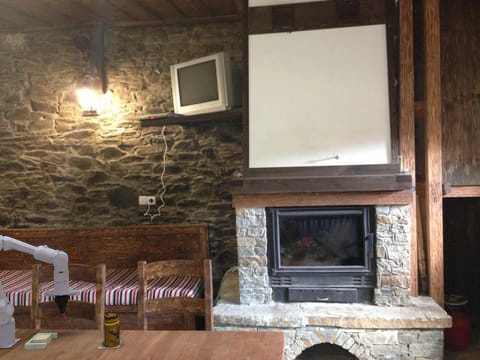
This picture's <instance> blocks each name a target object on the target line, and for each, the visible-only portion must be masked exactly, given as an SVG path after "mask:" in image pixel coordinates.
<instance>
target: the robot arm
mask: <svg viewBox="0 0 480 360" xmlns="http://www.w3.org/2000/svg"><path fill="white" fill-rule="evenodd" d="M2 249H3V251H4V252H5V251H9V250H15V251H18V252H22V253H26V254H29V255H32V256H33V257H34V259H35V260H37V261H42V262H44V263H47V264H52V265H53V267H54V270H53V283H54V284H53V285H54V286H53V288H54V289H53V290H45V291H44V292H43V298H47V297H54V298H53V301H54V302H55V304H56V306H57V308H58V310H59V314H61V315H62V314H65V313H66V310H67V306H68V302H69V300H70V298H71V296H72V297H73V296H75V297H80V295H81V290H80V289H70V273H69V264H68V263H69V256H68V254H67V253H66V252H64V251H63V250H59V249H56V250H55V249H53V248H50V247H48V245H46V244H45V245H39V246H35V245H32V244H29V243H26V242H24V241H21V240H18V239H15V238H13V237H9V236H8V235H7V236H6V235H4V236H3V235H2V234H0V252H1V251H2ZM14 312H15V307H14V305H13V304H12V303H11V302H10V301H9V298H8V296H6V294H5V290H4V287H3V285H2V282H1V281H0V349H10V348H12V347H13V346H14V345H15V344H17V343H18V342H19V341H20V340H21V338H16V321H15V318H14V316H13V315H14Z"/></svg>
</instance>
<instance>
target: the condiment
mask: <svg viewBox="0 0 480 360" xmlns="http://www.w3.org/2000/svg"><path fill="white" fill-rule="evenodd" d="M103 320H104V322H103V340H100V342H99V345H97V350H102V349H103V350H105V349H116V348H117V349H118V348H121V345H122V342H123V339H121V329H120V325H121V324H120V320H119V314H118V313H117V312H109V313H106V314H105V315H104V319H103Z"/></svg>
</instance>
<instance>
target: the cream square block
mask: <svg viewBox="0 0 480 360" xmlns="http://www.w3.org/2000/svg"><path fill="white" fill-rule="evenodd" d="M51 342H52V338H51V334H39V335H38V336H37V337H35V338H34V339H33V343H46V347H47V346H48V345H49V344H50V343H51Z"/></svg>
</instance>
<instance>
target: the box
mask: <svg viewBox="0 0 480 360" xmlns="http://www.w3.org/2000/svg"><path fill="white" fill-rule="evenodd" d="M39 334H51V339H57V338H58V332H37V333H36V334H35V335H34V336H33V337H32V338H31V339H30V340H28V341H27V342H26V343H24V345H23V346H24V351H25V350H27V351H28V350H46V349H47V346H46V343H33V339H34V338H35V337H37V336H38V335H39Z"/></svg>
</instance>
